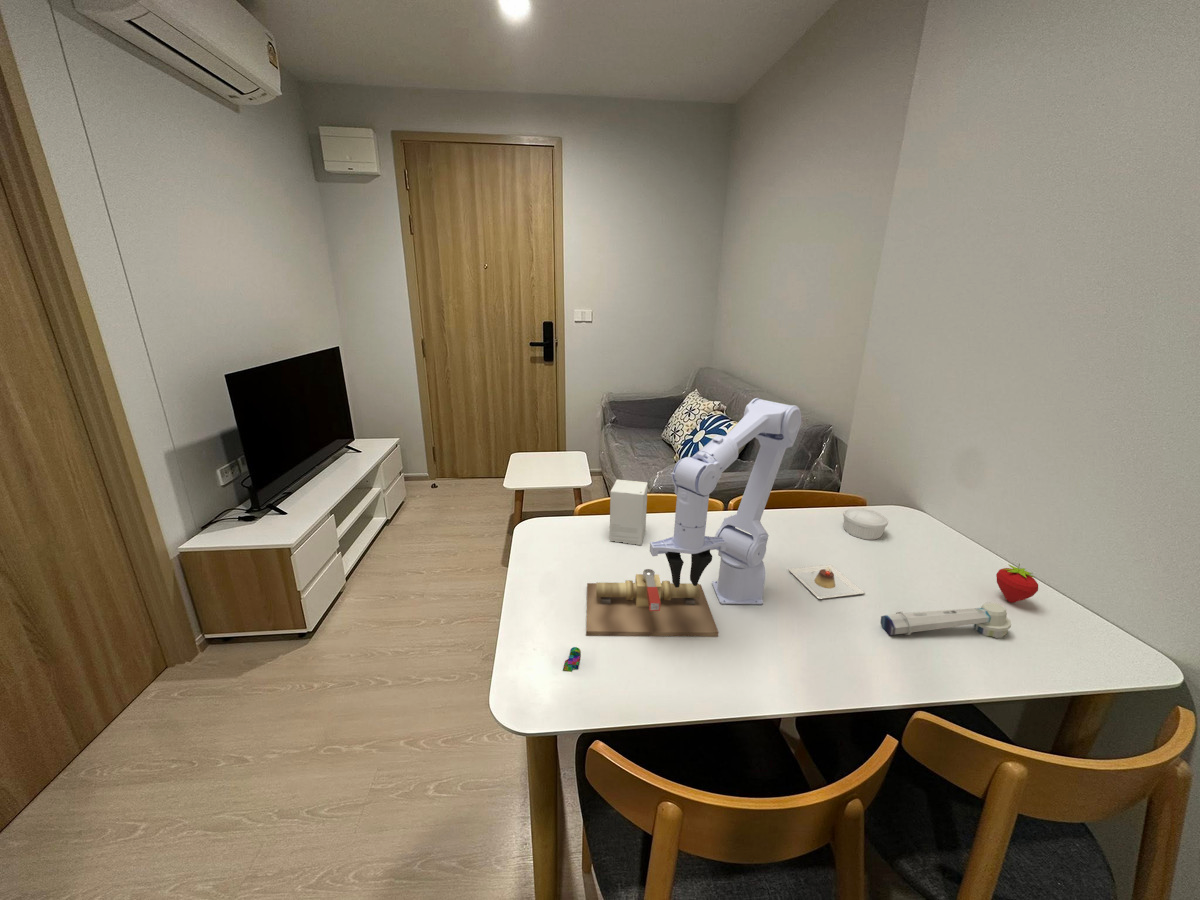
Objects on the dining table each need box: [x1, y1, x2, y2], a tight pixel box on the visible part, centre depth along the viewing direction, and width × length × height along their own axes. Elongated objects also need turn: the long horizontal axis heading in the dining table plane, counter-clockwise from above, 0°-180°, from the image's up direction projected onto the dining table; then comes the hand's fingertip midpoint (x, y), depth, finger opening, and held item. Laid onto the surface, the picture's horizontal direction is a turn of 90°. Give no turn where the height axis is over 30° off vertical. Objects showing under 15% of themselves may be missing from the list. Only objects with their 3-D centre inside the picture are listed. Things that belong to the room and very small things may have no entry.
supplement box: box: [608, 479, 649, 546], centre depth 128 cm, size 9×9×15 cm
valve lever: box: [642, 568, 660, 611], centre depth 95 cm, size 12×2×2 cm, turn 1°
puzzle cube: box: [562, 646, 582, 673], centre depth 85 cm, size 4×3×2 cm, turn 174°
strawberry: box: [996, 563, 1039, 604], centre depth 104 cm, size 6×8×10 cm
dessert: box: [787, 564, 866, 600], centre depth 111 cm, size 12×12×5 cm
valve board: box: [585, 573, 720, 638], centre depth 99 cm, size 26×16×6 cm, turn 91°
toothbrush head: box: [880, 601, 1012, 639], centre depth 95 cm, size 5×7×25 cm
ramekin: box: [842, 507, 889, 541], centre depth 135 cm, size 11×11×5 cm
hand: (684, 583), depth 92 cm, fingers open, 3 cm apart
